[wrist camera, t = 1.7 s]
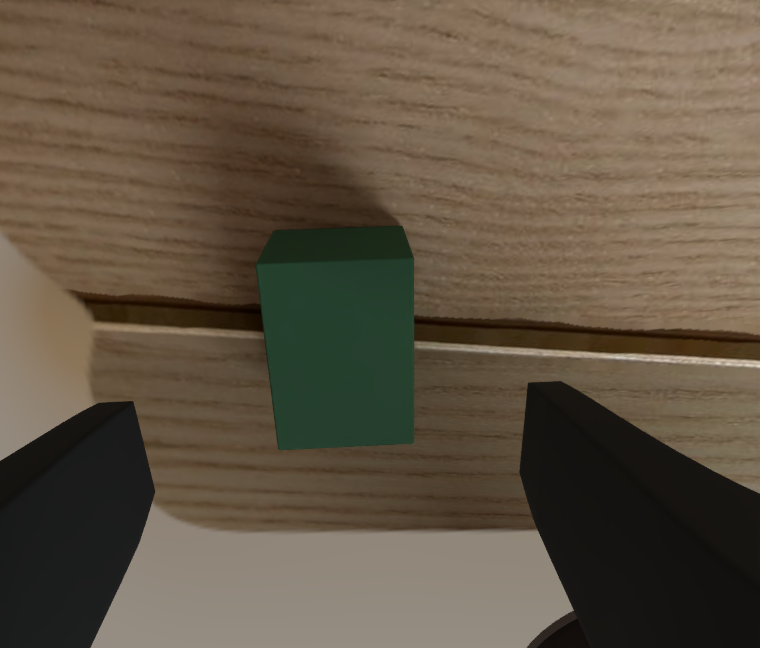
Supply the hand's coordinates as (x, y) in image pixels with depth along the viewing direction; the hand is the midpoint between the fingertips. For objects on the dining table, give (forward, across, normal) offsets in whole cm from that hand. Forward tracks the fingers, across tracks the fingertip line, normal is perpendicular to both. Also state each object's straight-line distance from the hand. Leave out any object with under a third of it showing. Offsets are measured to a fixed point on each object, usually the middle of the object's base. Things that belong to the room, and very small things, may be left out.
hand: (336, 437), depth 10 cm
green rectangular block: (+6, 0, 0) cm, 6 cm away
